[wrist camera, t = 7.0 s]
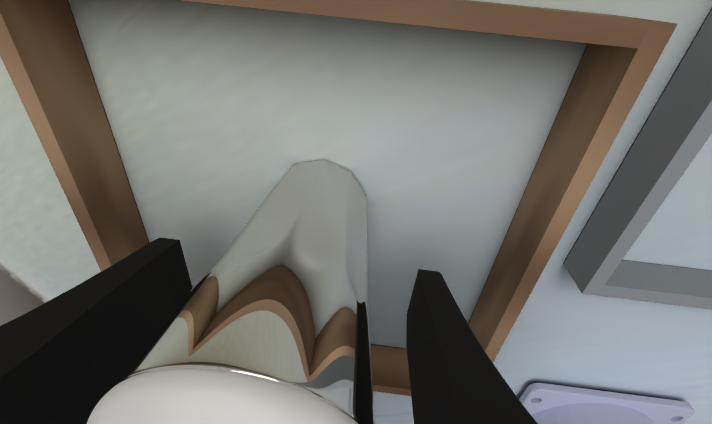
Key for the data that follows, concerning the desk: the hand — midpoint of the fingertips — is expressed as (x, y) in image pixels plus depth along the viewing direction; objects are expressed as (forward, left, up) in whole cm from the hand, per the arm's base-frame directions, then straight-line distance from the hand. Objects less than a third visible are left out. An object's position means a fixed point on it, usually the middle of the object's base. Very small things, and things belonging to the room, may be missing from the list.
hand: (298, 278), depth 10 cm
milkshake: (+1, 0, -3) cm, 3 cm away
